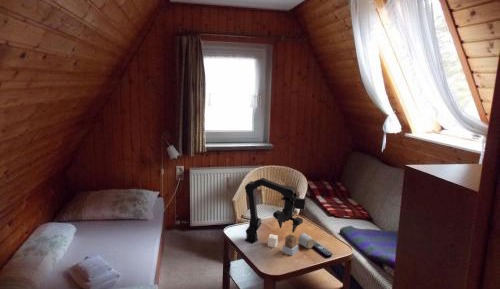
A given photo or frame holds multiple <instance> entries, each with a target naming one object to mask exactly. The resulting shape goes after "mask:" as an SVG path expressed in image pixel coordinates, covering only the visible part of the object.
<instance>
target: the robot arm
mask: <svg viewBox="0 0 500 289" xmlns="http://www.w3.org/2000/svg"><path fill="white" fill-rule="evenodd" d="M259 187H265V188H268V189H270V190H272V191H275V192H278V193H279V194H281V196H282V197H281V199H280V200H282V201H284V202H283V208H282V210H278V209H277V210H276V211H274V212H273V213H272V217H273V218H274V219H276V220H277V223H278V227H279V228H280V229H281V228H282V226H283V223H286V222H289V221H292V230H291V231H292V232H291V233H292V234H294V233H295V231H296V230H297V228H298V226H300V225H301V224H303V222H304V220H303V218H302V217H300V216H297V217H294V210H295V209H297V210H300V211H301V210H302V211H305V210H306V206H307V201H306V198H301V197H299V196H298V194H297V193H296V189H295V187H293V186H290V185H283V184H279V183H278V182H274V181H271V180H269V179H267V178H265V177H261V178H259V179H256V180H254V181H253V180H251V181H249V182H248V183H247V184H245V186H244V189H245V194H246V195H247V197H248V206H249V208H248V209H249V215H250V218H249V224H248V227H247V228H246V230H245V234H246V235H245V236H246V237H245V239H244V241H245V242H248V243H250V244H254V243H256V242H258V241H259V238H258V230H259V229H260V227H261V225H262V218H259V216H258V206H257V200H256V194H257V189H258V188H259Z"/></svg>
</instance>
